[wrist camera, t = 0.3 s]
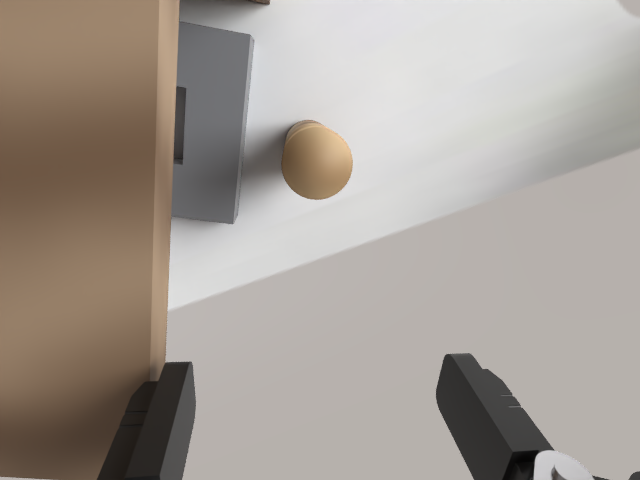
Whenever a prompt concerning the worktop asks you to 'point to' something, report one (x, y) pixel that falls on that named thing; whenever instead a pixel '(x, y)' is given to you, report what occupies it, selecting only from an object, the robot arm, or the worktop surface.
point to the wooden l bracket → (82, 223)
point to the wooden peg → (315, 160)
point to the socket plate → (211, 122)
